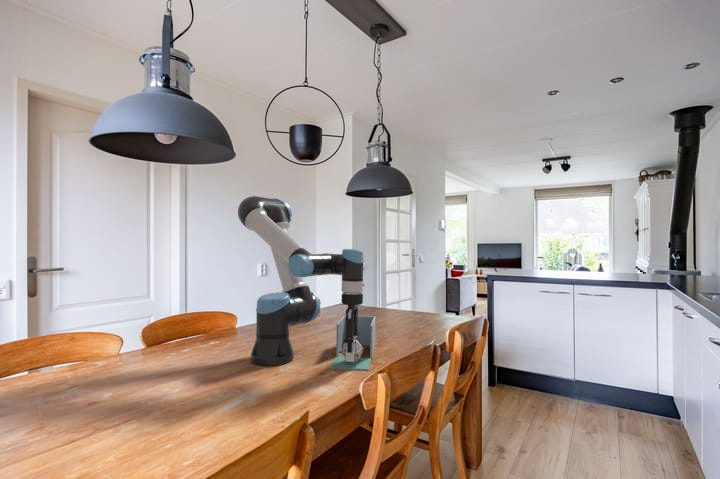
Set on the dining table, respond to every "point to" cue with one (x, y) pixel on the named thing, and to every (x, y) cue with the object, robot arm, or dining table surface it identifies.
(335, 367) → the mat
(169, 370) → the dining table surface
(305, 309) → the robot arm
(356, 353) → the game die
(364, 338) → the slot box
